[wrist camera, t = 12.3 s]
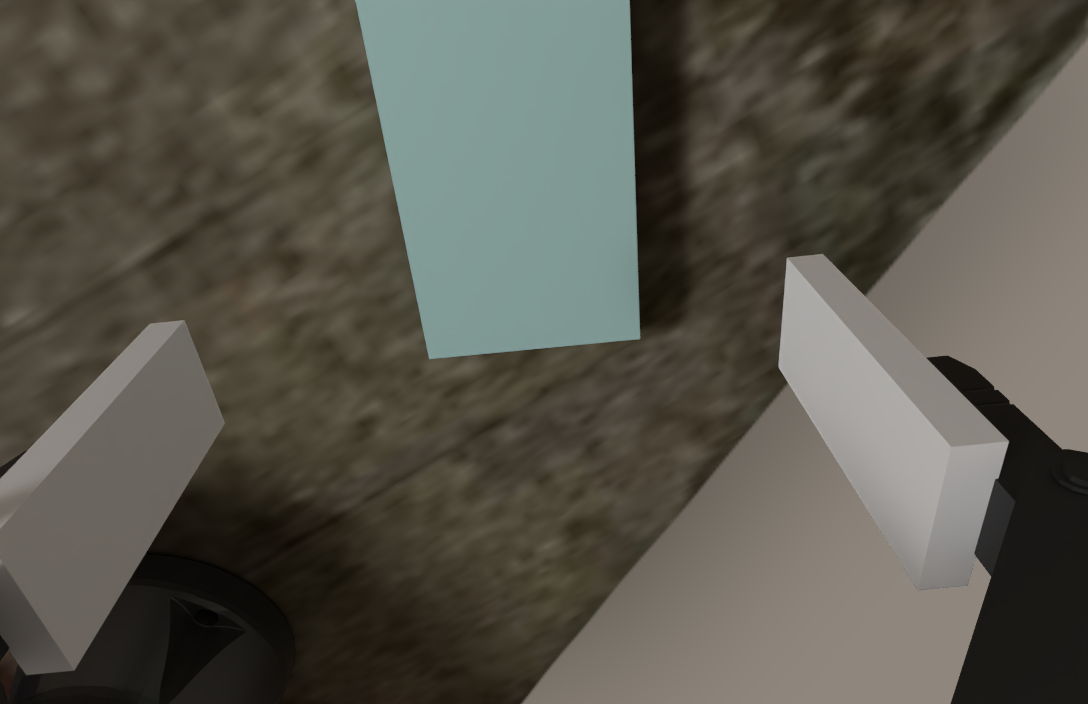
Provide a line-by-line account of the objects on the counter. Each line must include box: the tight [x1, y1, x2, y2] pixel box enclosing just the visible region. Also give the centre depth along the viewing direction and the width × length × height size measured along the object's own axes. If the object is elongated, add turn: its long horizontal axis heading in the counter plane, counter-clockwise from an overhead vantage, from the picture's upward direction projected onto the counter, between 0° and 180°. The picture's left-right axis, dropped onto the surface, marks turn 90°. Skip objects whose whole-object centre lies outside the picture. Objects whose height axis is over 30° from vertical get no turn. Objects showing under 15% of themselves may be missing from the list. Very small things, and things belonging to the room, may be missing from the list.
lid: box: [356, 0, 640, 359], centre depth 29 cm, size 10×18×3 cm, turn 5°
